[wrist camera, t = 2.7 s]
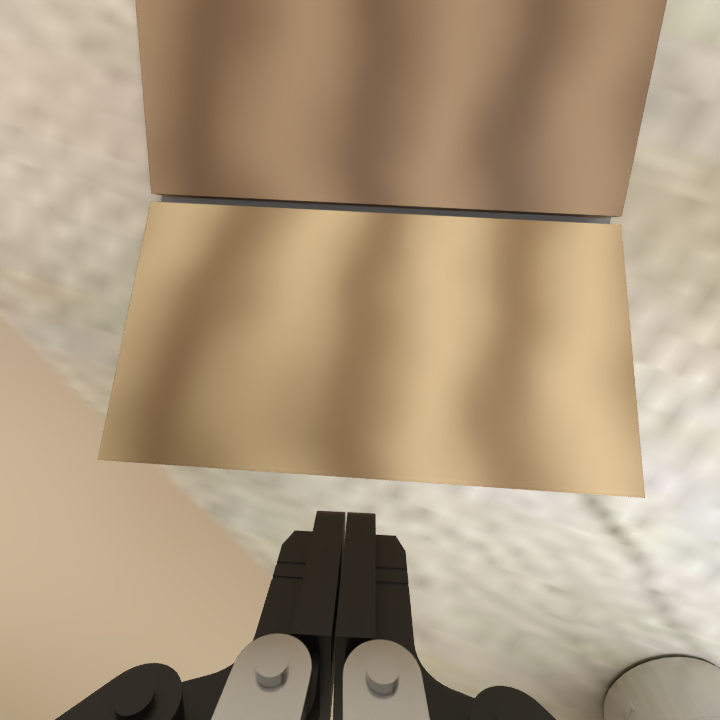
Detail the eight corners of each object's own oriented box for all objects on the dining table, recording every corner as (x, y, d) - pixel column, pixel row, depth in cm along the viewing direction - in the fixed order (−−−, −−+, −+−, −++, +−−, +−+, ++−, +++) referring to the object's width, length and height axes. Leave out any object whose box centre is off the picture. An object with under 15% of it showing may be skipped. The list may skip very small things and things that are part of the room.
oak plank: (599, 245, 22) (621, 224, 20) (617, 494, 19) (645, 497, 17) (168, 223, 22) (151, 201, 20) (123, 460, 19) (97, 459, 18)
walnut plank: (658, -79, 18) (690, -116, 16) (600, 218, 22) (621, 216, 20) (151, -92, 19) (124, -129, 17) (170, 197, 22) (151, 193, 20)
